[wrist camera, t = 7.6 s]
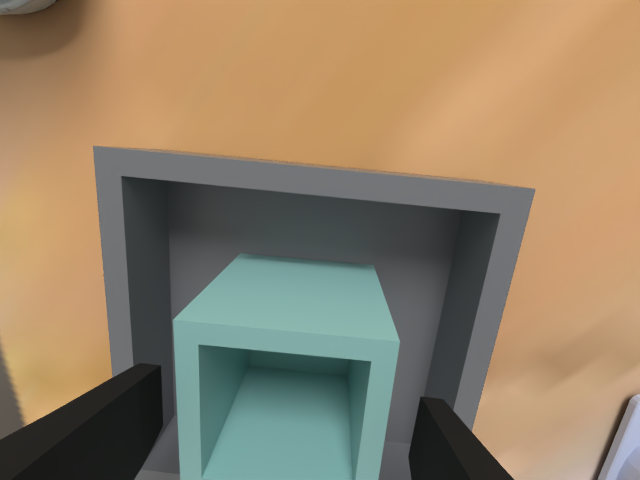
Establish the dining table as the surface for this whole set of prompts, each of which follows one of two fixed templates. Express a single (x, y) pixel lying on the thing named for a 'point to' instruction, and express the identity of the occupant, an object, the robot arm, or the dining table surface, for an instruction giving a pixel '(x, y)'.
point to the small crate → (285, 372)
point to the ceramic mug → (23, 6)
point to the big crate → (316, 244)
